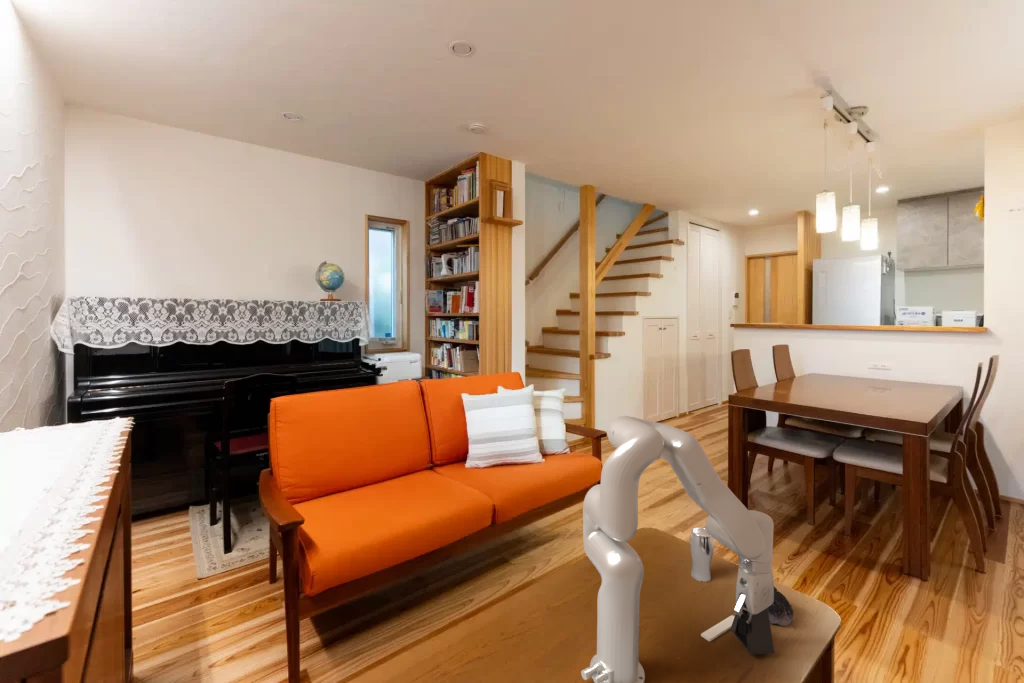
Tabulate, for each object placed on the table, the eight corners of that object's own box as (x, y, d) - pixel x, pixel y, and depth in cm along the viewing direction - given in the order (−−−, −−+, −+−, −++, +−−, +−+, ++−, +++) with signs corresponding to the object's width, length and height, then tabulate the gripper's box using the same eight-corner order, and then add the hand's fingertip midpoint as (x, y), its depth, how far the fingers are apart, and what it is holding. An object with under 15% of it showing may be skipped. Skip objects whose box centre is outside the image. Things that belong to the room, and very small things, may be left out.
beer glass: (690, 580, 142) (691, 535, 142) (688, 568, 149) (689, 525, 148) (714, 584, 140) (715, 538, 139) (711, 572, 147) (712, 528, 146)
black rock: (771, 597, 135) (768, 564, 135) (808, 623, 122) (805, 587, 122) (732, 606, 133) (729, 572, 133) (766, 634, 120) (762, 596, 120)
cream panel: (709, 641, 116) (709, 639, 116) (700, 635, 118) (701, 633, 118) (740, 622, 123) (740, 620, 123) (731, 616, 125) (731, 614, 125)
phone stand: (774, 653, 110) (776, 607, 109) (751, 655, 109) (753, 608, 109) (751, 628, 119) (753, 585, 118) (730, 629, 118) (732, 586, 118)
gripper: (750, 579, 105) (747, 653, 106) (788, 559, 114) (785, 626, 115) (720, 564, 111) (718, 634, 113) (758, 546, 121) (756, 610, 122)
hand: (752, 629), depth 114 cm, fingers closed on phone stand, 5 cm apart
